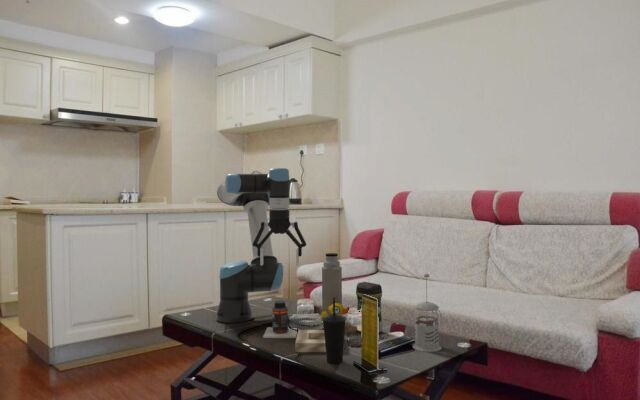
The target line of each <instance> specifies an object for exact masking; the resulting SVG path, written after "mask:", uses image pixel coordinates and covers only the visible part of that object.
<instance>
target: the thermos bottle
mask: <svg viewBox="0 0 640 400" xmlns="http://www.w3.org/2000/svg"><path fill="white" fill-rule="evenodd" d="M338 256H339V255H338V253H337V252H336V253H335V252H334V253H333V252H329V253H328V252H327V253H325V260H323V264H322V267H321V299H322V300H321V310H322V311H321V314H322V313H323V312H324V311H326V312H327V314H328V315H329V314H331V313H330V311H329V309H328V308H329V306H331V305H333V298H335V303H340V304H341V305H343V288H342V287H343V278H342V277H343V276H342V275H343V274H342V273H343V271H342V266H341V262H340V261H339V260H338V259H339V258H338Z"/></svg>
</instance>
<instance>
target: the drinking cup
mask: <svg viewBox="0 0 640 400" xmlns="http://www.w3.org/2000/svg"><path fill="white" fill-rule="evenodd" d="M322 321H323V324H322V326H323V330H324V336H325V346H326V352H325V356H326V362H327V363H328V364H332V365H339V364H342V363H343V361H344V359H343V358H344V352H343V348H345V347H344V346H345V345H344V344H345V334H346V333H345V331H346V321H347V317H346V316H344V315H343V314H342V315H340V314H335V298H333V314H329V315H326V316H324V317H322Z"/></svg>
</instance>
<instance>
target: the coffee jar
mask: <svg viewBox="0 0 640 400" xmlns="http://www.w3.org/2000/svg"><path fill="white" fill-rule="evenodd" d="M355 294H356V298H357V299H356V300H357V301H356V302H357V307H356V310H360V309H361V305H362V294H366V295H369V296H372V297H375V298H377V299H378V317H379V333H378V334H381V332H383V321H382V302H381V301H382V296H383V289H382V285H381V284H377V283H374V282H370V281H361V282H358V283H357V284H356V290H355ZM359 312H360V311H359Z"/></svg>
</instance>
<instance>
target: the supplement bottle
mask: <svg viewBox="0 0 640 400" xmlns="http://www.w3.org/2000/svg"><path fill="white" fill-rule="evenodd" d="M271 317H272V319H271V320H272V327H273V332H274V333H286V332H288V327H289V308H288V307H287V305H286V301H285V300H277V301H274V306H273V308H272V309H271Z"/></svg>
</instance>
